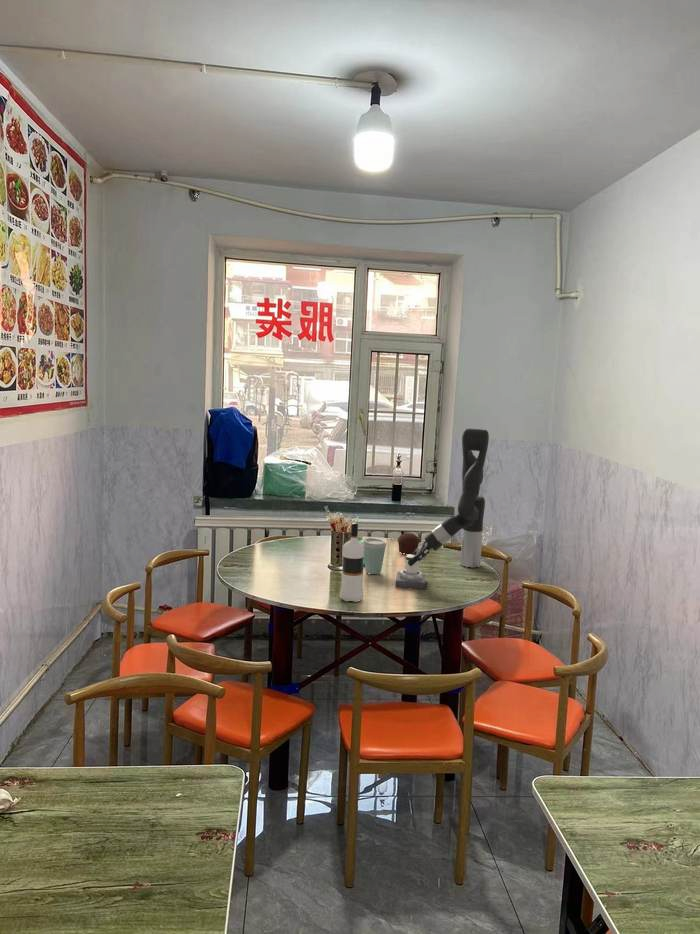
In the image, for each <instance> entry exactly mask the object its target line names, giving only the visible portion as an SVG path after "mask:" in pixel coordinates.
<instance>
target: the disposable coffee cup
mask: <svg viewBox="0 0 700 934" xmlns="http://www.w3.org/2000/svg"><path fill="white" fill-rule="evenodd" d="M363 541H364V542H363V543H362V544H363V545H364V548H365V550H364V561H365V565H364V568H365V570H364V571H365V572H367V573H370V574H378V575H380V574H381V572H382V570H383V569H382V568H383V563H384V557H385V553H386V547H387V543H386V542H385V541H384V540H383V539H380V538H375V537H367V538H364V539H363ZM367 573H366V574H367ZM379 573H380V574H379ZM370 574H369V575H370Z"/></svg>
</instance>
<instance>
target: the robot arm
mask: <svg viewBox="0 0 700 934" xmlns="http://www.w3.org/2000/svg"><path fill="white" fill-rule="evenodd" d="M489 439H490V435H489V431H488V430H486V429H481V428H479V429H478V428H465V429H464V430H463V432H462V436H461V447H462V448H461V449H462V450H461V451H462V471H461V473H462V474H461V478H462V479H461V481H462V490H461V495H460V497H459V501H458V504H457V514H456V515H454V516H449V517H447V518H446V519H445V520H443V522H441V523H440V524H439V525H438V526H435V527H434V528H433V529H432V530H431V531H429V533H427V534H426V535H425V536H424V542H422V544H420V545H418V548H416V550H415V552H414V553H412V554H411V555H415V556H414V557H413V558H412V559H411V560H409V561H408V564H409V565H410V566H412V565H413V564H414V563H416V562H417V561H419V562H420V561H421V560H423V558H425V557H426V556H427V555H428V554H430V550H431V549H432V550H433V551H435V552H437V551H438V550H439V549H440V548H442V547H443V546H444V545H445V544H446V543H448V542H449V541H450V539H451V538H453V537H454V536H455V535H456V534H457V533H458V532H459V531H461V530H462V535H461V536H462V537H461V547H460V548H461V552H460V563H459V564H461V565H462V567H463V566H465V568H468V567H471V568H470V569H476V568H475V567H478V568H480V567H481V559H482V558H481V557H482V543H483V527H484V525H483V524H484V515H485V510H486V509H485V508H486V500H485V499H486V498H485V497H483V496H480V487H481V485H482V484H483V483H482V482H483V481H484V466H485V462H486V457H487V453H488V447H489V442H490V441H489ZM473 451H474V452H475V451H476V452H477V451H478V452H479V453H478V456H477V457H476V456H475V454H474V453H473ZM461 565H460V566H461ZM473 567H474V568H473Z"/></svg>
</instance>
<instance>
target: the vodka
mask: <svg viewBox="0 0 700 934" xmlns="http://www.w3.org/2000/svg"><path fill="white" fill-rule="evenodd" d="M350 528H351V529H350V540H347V541H345V543H344V544H343V546H342V567H341V569H342V572H341V584H340V586H341V587H340V590H339V598H342V599H344V600H349V601H357V600H361V601H363V600H364V586H363V584H364V583H363V581H364V580H363V578H364V565H363V561H364V550H365V548H364V545H363V544H362V543H361V542H360V540H358V539H359V538H358V536H359V535H358V533H359V531H358V530H359V524H358V523H357V522H351V526H350ZM342 599H341V600H342Z"/></svg>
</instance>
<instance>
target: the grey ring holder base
mask: <svg viewBox="0 0 700 934" xmlns="http://www.w3.org/2000/svg"><path fill="white" fill-rule="evenodd" d="M425 584H426V573H423V572H422V571H420V570H418V574H417V575H410V574H405V569H402V570H400V571H397V573H396V578H395V585H394V586H395V587H401V589H408V588H412V589H411V590H420V589H422V590H424V591H425V588H426V587H425V586H426V585H425Z"/></svg>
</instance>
